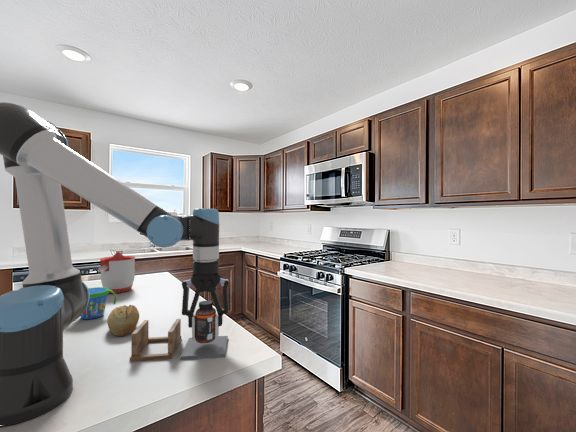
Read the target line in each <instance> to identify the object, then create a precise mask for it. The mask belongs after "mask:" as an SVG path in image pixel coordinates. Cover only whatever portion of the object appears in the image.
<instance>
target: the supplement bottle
mask: <svg viewBox="0 0 576 432" xmlns="http://www.w3.org/2000/svg"><path fill="white" fill-rule="evenodd" d="M213 306H214V301H213V300H201V301H200V302H199V301H198V308H197V309H196V311H195V313H194V314H195V340H196V342H198V343H210V342H212V341H214V340H215V316H216V314H217V310H216V308H214V307H213Z"/></svg>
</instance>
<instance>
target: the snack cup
mask: <svg viewBox="0 0 576 432" xmlns="http://www.w3.org/2000/svg"><path fill="white" fill-rule="evenodd" d="M88 289H89V293H90V299H89V303H88V305H87V307H86V309H85V311H84V312H83V313H82V314H81V316H80V317H79V318H80V319H83V320H93V319H96V318H101V317H102V316H104V314H105V311H106V306H107V305H106V304H107V300H108V296H109V294H110V293H109V292H112V293H111V294H113V295H114V296H113V297H114V298H113V305H116V304H117V295H116V294H115V293H114V292H113V291H112V290H110V289H108V288H104V287H103V286H100V287H99V286H97V287H89V288H88Z"/></svg>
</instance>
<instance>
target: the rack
mask: <svg viewBox="0 0 576 432" xmlns="http://www.w3.org/2000/svg"><path fill="white" fill-rule="evenodd" d="M181 319H182V318H176V319H175V320H174V322H173V324H172V325H171V327H170V329H169V330H168V331H167V336H154V337H149V319H148V320H147V319H144V320H143V321H142V322H141V323H140V324H139V325H138V327H136V329H134V330H133V331H132V332H131V333H130V334H131V338H130V339H131V343H130V345H131V351H130V352H131V354H130V356H129V362H139V361H140V362H141V361H155V360H158V361H159V360H170V359H171V360H172V358H173V356H174V354H175V352H176V351H177V348H178V346H179V344H180V343H181V341H182V335H181V332H182V331H181V330H182V329H181V328H182V327H181V325H182V324H181V322H182V321H181ZM163 342H164V343H165V342H167V353H150V354H141V353H142V351H143V350H144V349H145V348H146V347H147V345H148V344H149V343H163Z"/></svg>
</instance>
